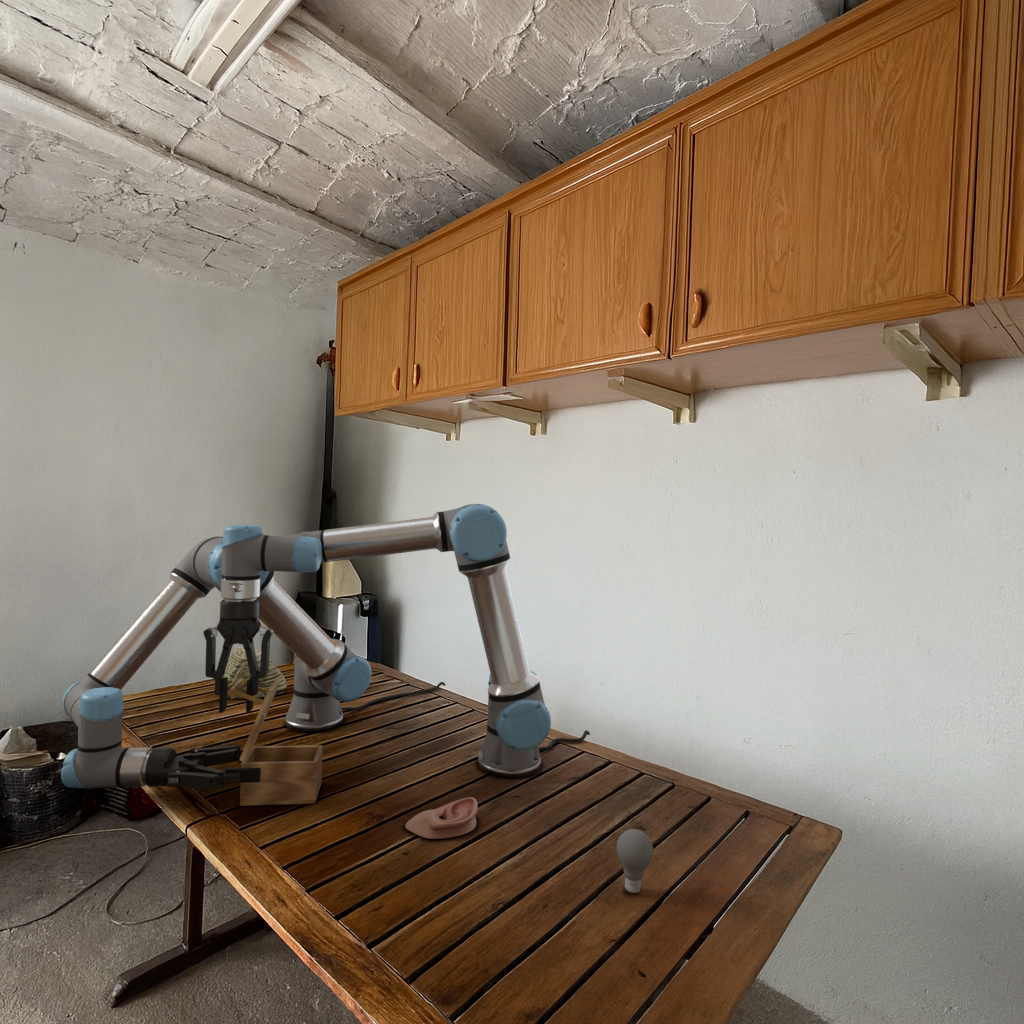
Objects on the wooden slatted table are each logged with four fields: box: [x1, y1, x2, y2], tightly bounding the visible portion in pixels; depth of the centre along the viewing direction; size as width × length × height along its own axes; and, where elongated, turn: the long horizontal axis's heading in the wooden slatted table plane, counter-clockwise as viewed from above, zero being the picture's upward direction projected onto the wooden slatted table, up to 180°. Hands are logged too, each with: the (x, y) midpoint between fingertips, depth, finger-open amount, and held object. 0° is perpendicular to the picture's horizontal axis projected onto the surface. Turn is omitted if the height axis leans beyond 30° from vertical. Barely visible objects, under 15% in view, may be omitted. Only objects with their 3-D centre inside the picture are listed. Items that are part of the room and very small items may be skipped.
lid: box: [227, 677, 281, 762], centre depth 132 cm, size 15×9×8 cm
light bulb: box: [615, 828, 654, 894], centre depth 106 cm, size 6×6×10 cm
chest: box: [239, 744, 324, 807], centre depth 134 cm, size 15×9×9 cm, turn 99°
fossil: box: [223, 646, 288, 699], centre depth 198 cm, size 9×18×15 cm, turn 132°
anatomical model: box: [404, 796, 479, 840], centre depth 124 cm, size 13×4×12 cm
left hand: (265, 765), depth 133 cm, fingers closed on chest, 9 cm apart
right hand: (236, 709), depth 132 cm, fingers open, 5 cm apart
